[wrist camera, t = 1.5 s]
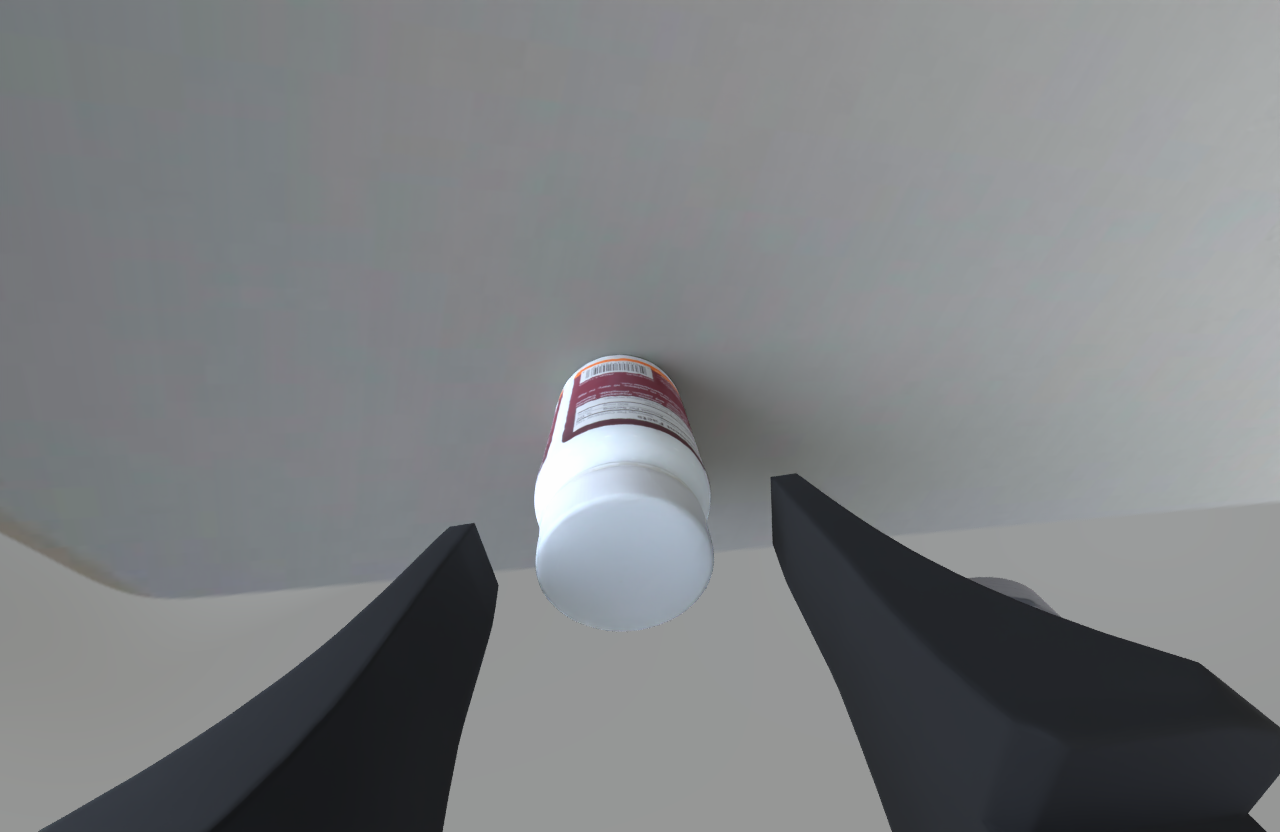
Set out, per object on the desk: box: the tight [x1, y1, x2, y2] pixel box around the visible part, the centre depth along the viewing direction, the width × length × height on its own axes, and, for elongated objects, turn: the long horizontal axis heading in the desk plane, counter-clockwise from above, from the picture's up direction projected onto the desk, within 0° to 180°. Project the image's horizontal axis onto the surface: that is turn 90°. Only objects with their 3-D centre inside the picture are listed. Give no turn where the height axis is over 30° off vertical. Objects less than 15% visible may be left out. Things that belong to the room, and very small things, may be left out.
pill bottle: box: [534, 355, 714, 631], centre depth 14 cm, size 5×5×8 cm
